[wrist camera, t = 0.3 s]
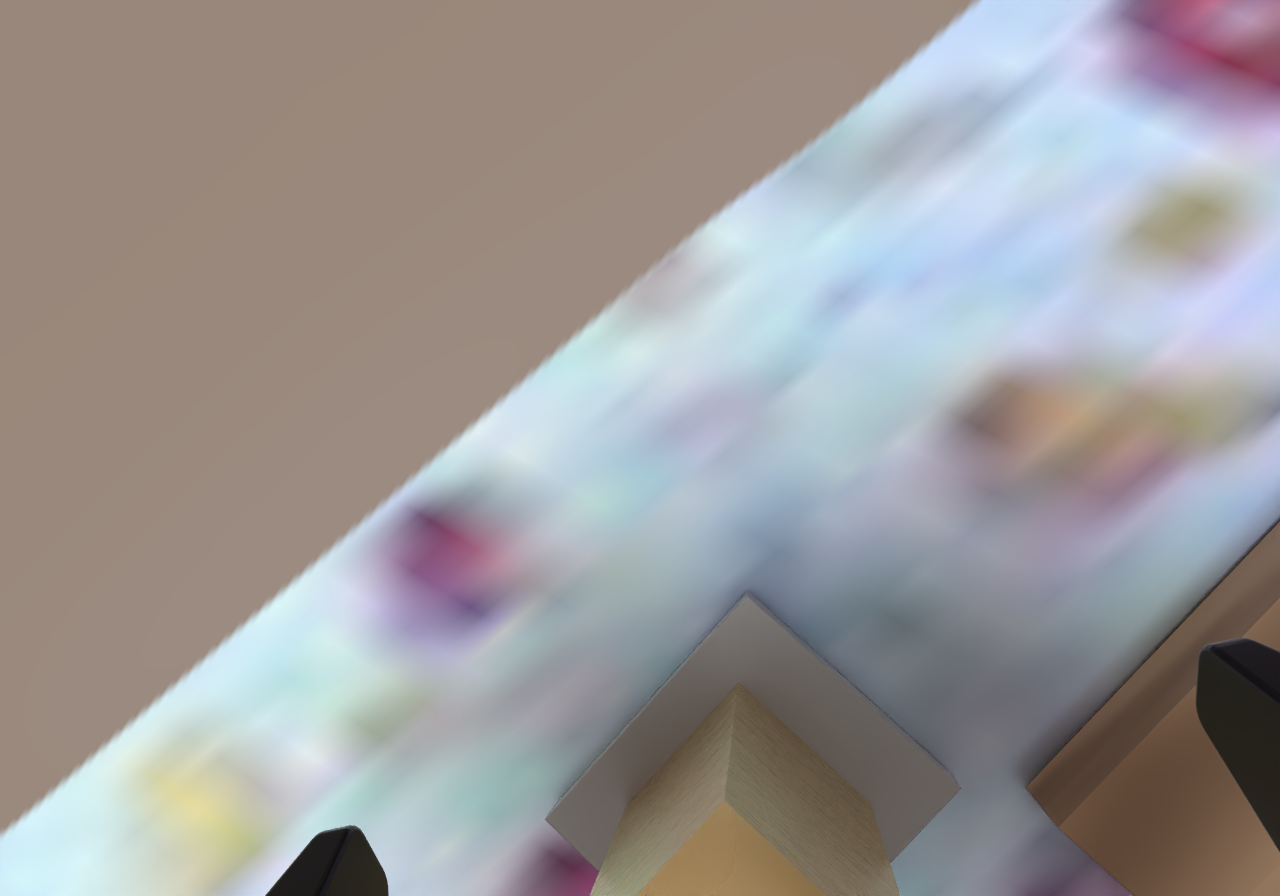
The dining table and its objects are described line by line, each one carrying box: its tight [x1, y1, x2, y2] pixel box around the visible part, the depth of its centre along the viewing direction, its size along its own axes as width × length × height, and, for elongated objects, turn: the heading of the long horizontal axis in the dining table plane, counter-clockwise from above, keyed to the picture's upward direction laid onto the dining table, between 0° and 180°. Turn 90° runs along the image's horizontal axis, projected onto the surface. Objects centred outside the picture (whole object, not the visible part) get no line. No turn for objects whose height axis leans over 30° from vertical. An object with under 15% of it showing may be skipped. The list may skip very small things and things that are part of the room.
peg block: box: [590, 682, 900, 896], centre depth 18 cm, size 4×4×8 cm
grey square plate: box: [545, 590, 961, 872], centre depth 23 cm, size 7×8×1 cm
